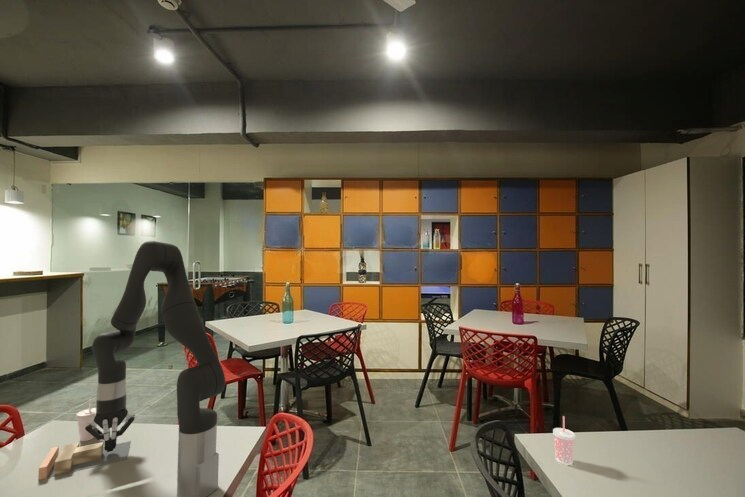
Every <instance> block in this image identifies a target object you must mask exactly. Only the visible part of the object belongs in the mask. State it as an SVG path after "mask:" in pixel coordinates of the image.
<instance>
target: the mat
mask: <svg viewBox="0 0 745 497" xmlns="http://www.w3.org/2000/svg"><path fill="white" fill-rule="evenodd" d="M131 443H132V440H129V441H126V442H125V441H124V442H121V443H116V447H115V449H113V451H110V452H107V450H106V451H105V446H103V454H102V457H101V459H98V460H94V461H89V462H85V463H80V464H76V465H73V466H72V468H71V470H70V471H68V472H64V473H60V474H55V475H54V465H53V467H52V469H51V471H50V472H49V474H48V476H47V478H45V479H50V478H53V477H54V478H55V477H57V476H61V475H66V474H70V473H75V472H78V471H83V470H87V469H91V468H96V467H100V466H104V465H108V464H112V463H116V462H121V461H126V460H128V457H129V453H130V448H131ZM45 479H44V480H45ZM41 480H43V479H41Z"/></svg>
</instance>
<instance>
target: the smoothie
mask: <svg viewBox="0 0 745 497" xmlns="http://www.w3.org/2000/svg"><path fill="white" fill-rule="evenodd" d="M88 401H89V403H88V408H85V409H84V410H80V411H78V412H76V413H75V414H76V416H75V418H76V419H77V425H78V426H77V427H78V435H79V441H80V442H86V441H90V440H93V439H95V437H94V436H92V435H91V434H90V433H89V432H88V431H86V430H85V428H86V426H87V424H88V423H91V422H92V421H93V420H94V418H95V416H96V407H92V398H89V399H88ZM96 428H98V425H97V424H96Z"/></svg>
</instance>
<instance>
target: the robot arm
mask: <svg viewBox="0 0 745 497" xmlns="http://www.w3.org/2000/svg"><path fill="white" fill-rule="evenodd" d="M150 272H159V273H160V272H161V273H163V274H164V277H165V279H166V283H167V290H166V292H165V294H164V297H163V300H162V302H161V306H160V312H161V317H162V319H163V320H162V321H163V322H164V326H165V330H166V331H167V333H168V334H169V335H170V336H171V337H172V338H173V339H174V340H175V341H177V342H178V343H180V344H181V345H182V346H183V347H184V348H186V349H187V350H188V351H189V352H190V353H191V355H192V356H193V357H194V359H195V361H196V363H197V365H195V366H191V367H188V368H185V369H183V370H181V371H180V373H179V375H178V377H177V380H176V408H177V410H176V414H177V415H176V416H177V422H178V439H177V440H178V441H177V442H178V443H177V444H178V445H177V448H178V449H177V472H176V473H177V475H176V476H177V477H176V483H177V484H176V497H209V496H210V495H212V493H214V492H215V491H217V490H218V488H219V462H220V461H219V459H220V458H219V456H220V454H219V453H218V452H217V433H218V430H217V429H218V413H217V411H216V410H214V409H211V408H205V407H203V408H202V407H200V406H201V404H200V402H202V401H204V400H208V399H210V398H214V397H216V396H218V395H221V394H222V393H223V392H224V390H225V387H226V377H225V372H224V370H223V366H222V364H221V361H220V360H219V358H218V355H217V354H216V352H215V350H214V348H213V345H212V343H211V342H210V341H211V340H210V339H209V337H208V334H207V331H206V329H205V327H204V326H205V325H204V323H203V320H202V318H201V313H200V310H199V308H198V306H197V303H196V300H195V298H194V295H193V292H192V290H191V286H190V283H189V281H188V276H187V272H186V267H185V263H184V258H183V255H182V253H181V250H180V249H179V247H178V246H177V245H175V244H173V243H172V244H171V243H166V242H161V241H156V240H147V241H145V242H143V243H142V244H141V245H140V247H139V248H138V250H137V252H136V254H135V257H134V259H133V263H132V266H131V269H130V273H129V275H128V279H127V281H126V286H125V289H124V292H123V295H122V297H121V299H120V301H119V303H118V305H117V307H116V309H115V310H114V312H113V315H112V317H111V318H110V319H111V320H110V325H111V326H112V327H113V328H115V329H116V330H113V331H108V332H103V333H100V334H98V335H97V336H96V337H95V338H94V340H93V342H92V344H91V350H92V354H93V357H94V360H95V364H96V366H97V369H98V372H97V373H98V375H97V387H96V396H95V398H96V399H95V400H96V403H95V404H96V406H95V408H96V416H95V418H94V420H93V421H92V422H91V423H88V424H87V426H86V428H85V430H86V431H88V432H89V433H90V434H91V435H92V436H94V439H95V440H97V441H101V440H103V442H104V447H105V451H106V450H107V452H110V451H113V449H115V447H116V444H117V440H118V439H117V438H118V437H120V436H123V435H124V433H125V432H126V430H127V429H128V428H129V427H130V426H131V424H133V422H134V421H135V418H136V415H135V414H130V413H129V411H128V410H127V387H128V386H127V364H126V361H125V360H123V359H116V358H115V354H118V353H120V352H124V351H126V350H128V349H130V347H131V346H132V344H133V343H134V340H135V336H136V331H137V324H138V322H139V320H140V318H141V317H142V315H143V313H144V311H145V308H146V306H147V296H146V291H145V281H146V278H147V276H148V275H149V274H150ZM124 420H125V423H124V424H123V425H122V426H121V427H120V429H119V428H118V427H119V426H120V425H121V424H122V423H123V421H124ZM96 424H97V427H96ZM98 427H99V428H101V429H102V430H103V431H102V430H100V429H99V428H98Z"/></svg>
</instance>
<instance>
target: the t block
mask: <svg viewBox="0 0 745 497" xmlns="http://www.w3.org/2000/svg"><path fill="white" fill-rule="evenodd" d="M103 447H104V441H102V442H97V443H92V444H87V445H82V446H80V442H74V443H68V444H64V445H63V447H62V449H61V451H59V454H58V457H57V459H56V461H55V463H54V475H55V474H60V473H64V472H68V471H70V470H71V468H72V466H73V465H76V464H80V463H85V462H89V461H94V460H98V459H101V457H102V454H103Z"/></svg>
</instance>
